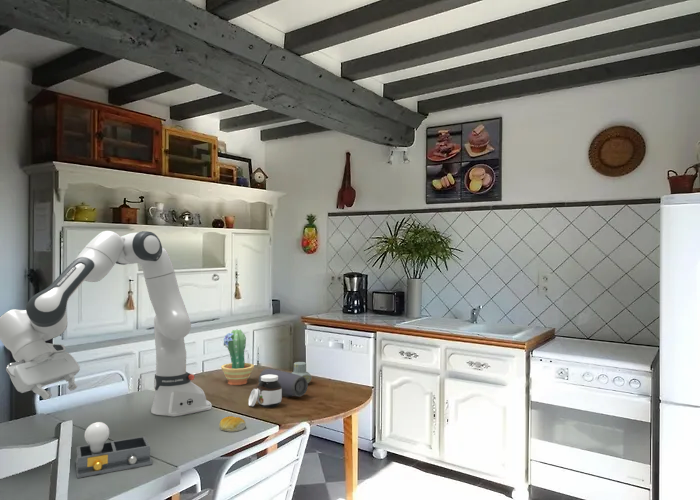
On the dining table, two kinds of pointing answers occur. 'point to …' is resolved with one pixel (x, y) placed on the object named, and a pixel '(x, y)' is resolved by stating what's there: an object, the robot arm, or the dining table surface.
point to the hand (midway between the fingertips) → (61, 393)
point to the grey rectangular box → (113, 457)
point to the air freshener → (301, 370)
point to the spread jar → (267, 392)
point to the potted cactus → (236, 359)
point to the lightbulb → (96, 436)
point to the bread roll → (232, 424)
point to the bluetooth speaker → (288, 382)
